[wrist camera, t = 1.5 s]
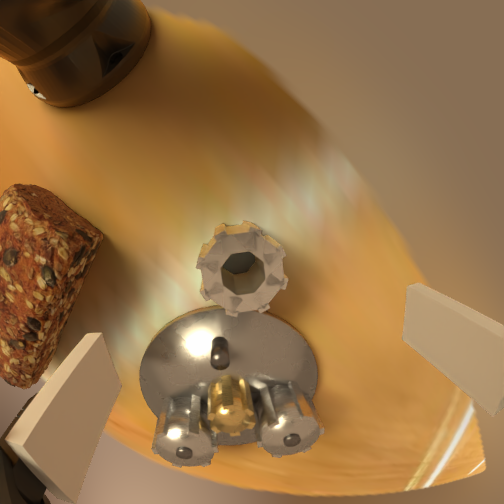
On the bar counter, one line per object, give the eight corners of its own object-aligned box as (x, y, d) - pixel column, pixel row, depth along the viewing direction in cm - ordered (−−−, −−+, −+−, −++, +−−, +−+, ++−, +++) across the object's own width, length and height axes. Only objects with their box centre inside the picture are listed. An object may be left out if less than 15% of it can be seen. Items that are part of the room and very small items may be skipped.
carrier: (120, 315, 26) (92, 352, 19) (312, 290, 28) (342, 321, 21) (168, 443, 30) (163, 485, 23) (314, 424, 32) (331, 464, 25)
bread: (58, 359, 27) (20, 405, 17) (1, 308, 25) (-44, 339, 15) (115, 234, 25) (64, 254, 15) (45, 179, 23) (-16, 177, 13)
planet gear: (197, 226, 26) (190, 234, 20) (269, 217, 26) (283, 222, 20) (208, 295, 27) (205, 321, 21) (276, 285, 28) (291, 308, 22)
